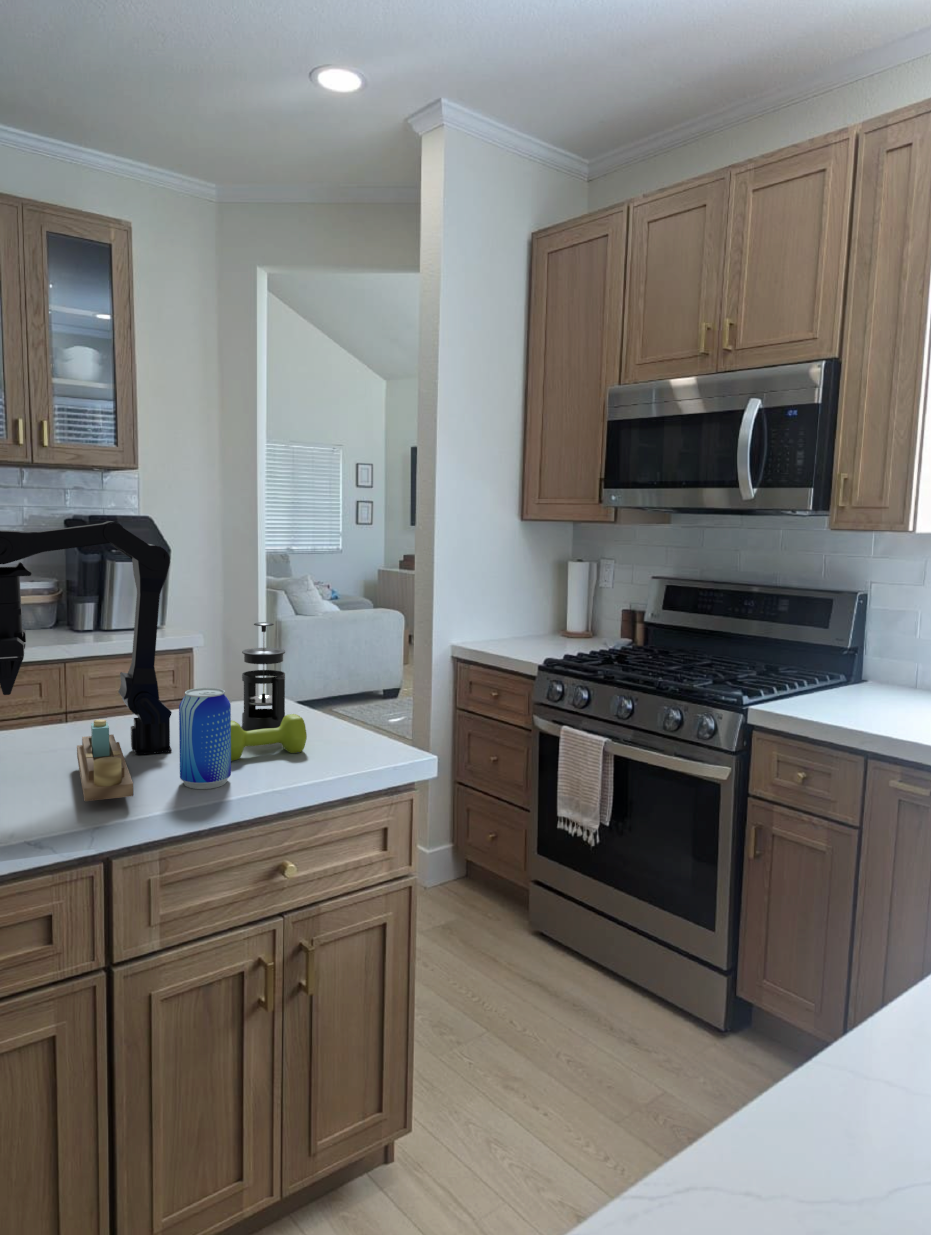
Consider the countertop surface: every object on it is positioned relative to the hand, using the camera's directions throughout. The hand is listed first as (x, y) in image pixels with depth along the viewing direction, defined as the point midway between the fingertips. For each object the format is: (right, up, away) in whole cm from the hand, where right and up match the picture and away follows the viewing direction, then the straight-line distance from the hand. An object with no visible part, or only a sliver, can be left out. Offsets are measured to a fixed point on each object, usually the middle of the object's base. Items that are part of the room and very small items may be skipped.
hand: (7, 689), depth 155 cm
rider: (+18, -11, -3) cm, 21 cm away
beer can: (+37, -16, -5) cm, 40 cm away
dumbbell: (+42, -14, +13) cm, 46 cm away
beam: (+20, -16, -8) cm, 27 cm away
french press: (+38, -11, +32) cm, 51 cm away
